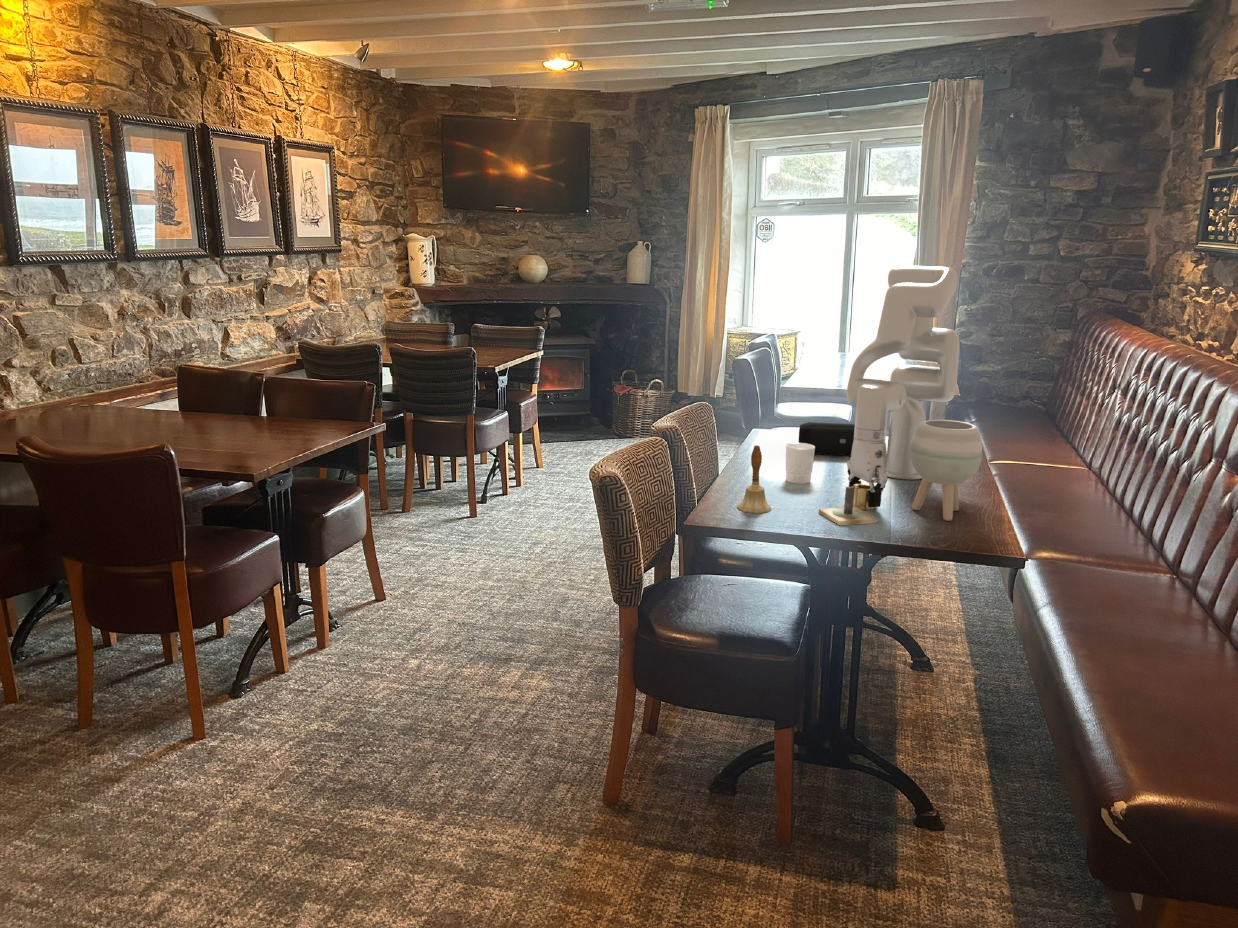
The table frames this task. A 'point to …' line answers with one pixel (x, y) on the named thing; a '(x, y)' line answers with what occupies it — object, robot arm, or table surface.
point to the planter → (945, 459)
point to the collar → (861, 496)
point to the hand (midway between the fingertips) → (863, 501)
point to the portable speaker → (828, 437)
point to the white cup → (799, 462)
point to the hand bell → (755, 488)
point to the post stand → (848, 512)
